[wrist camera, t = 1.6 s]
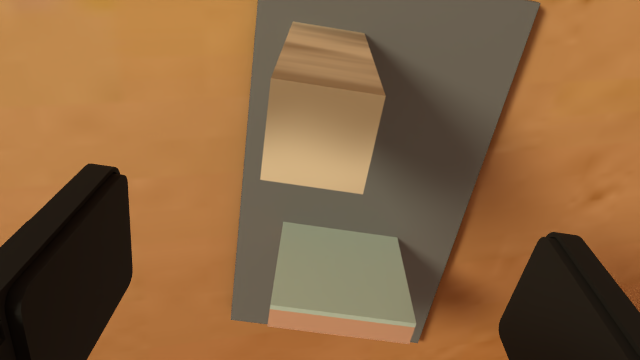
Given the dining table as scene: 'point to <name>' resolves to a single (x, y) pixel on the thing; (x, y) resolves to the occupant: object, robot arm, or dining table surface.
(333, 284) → the tile
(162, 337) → the dining table surface
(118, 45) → the dining table surface
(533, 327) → the robot arm
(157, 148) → the dining table surface
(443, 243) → the mat
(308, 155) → the light wood block
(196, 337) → the dining table surface
